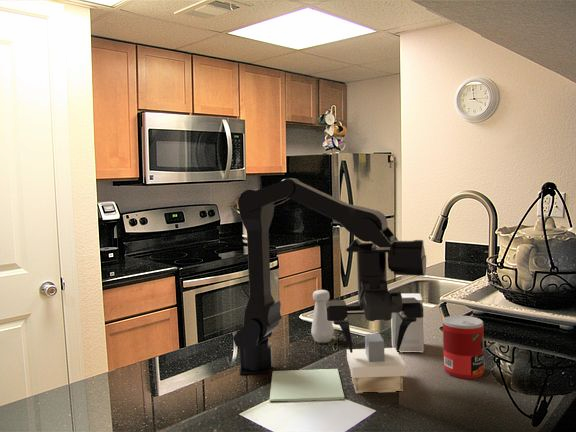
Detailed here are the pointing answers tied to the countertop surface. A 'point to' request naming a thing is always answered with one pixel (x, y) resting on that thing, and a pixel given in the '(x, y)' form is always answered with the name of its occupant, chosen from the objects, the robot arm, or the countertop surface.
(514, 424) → the countertop surface
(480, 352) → the canned food
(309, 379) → the mat
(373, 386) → the box
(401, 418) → the countertop surface
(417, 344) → the supplement box
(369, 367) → the lid
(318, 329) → the salt shaker
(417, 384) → the countertop surface
